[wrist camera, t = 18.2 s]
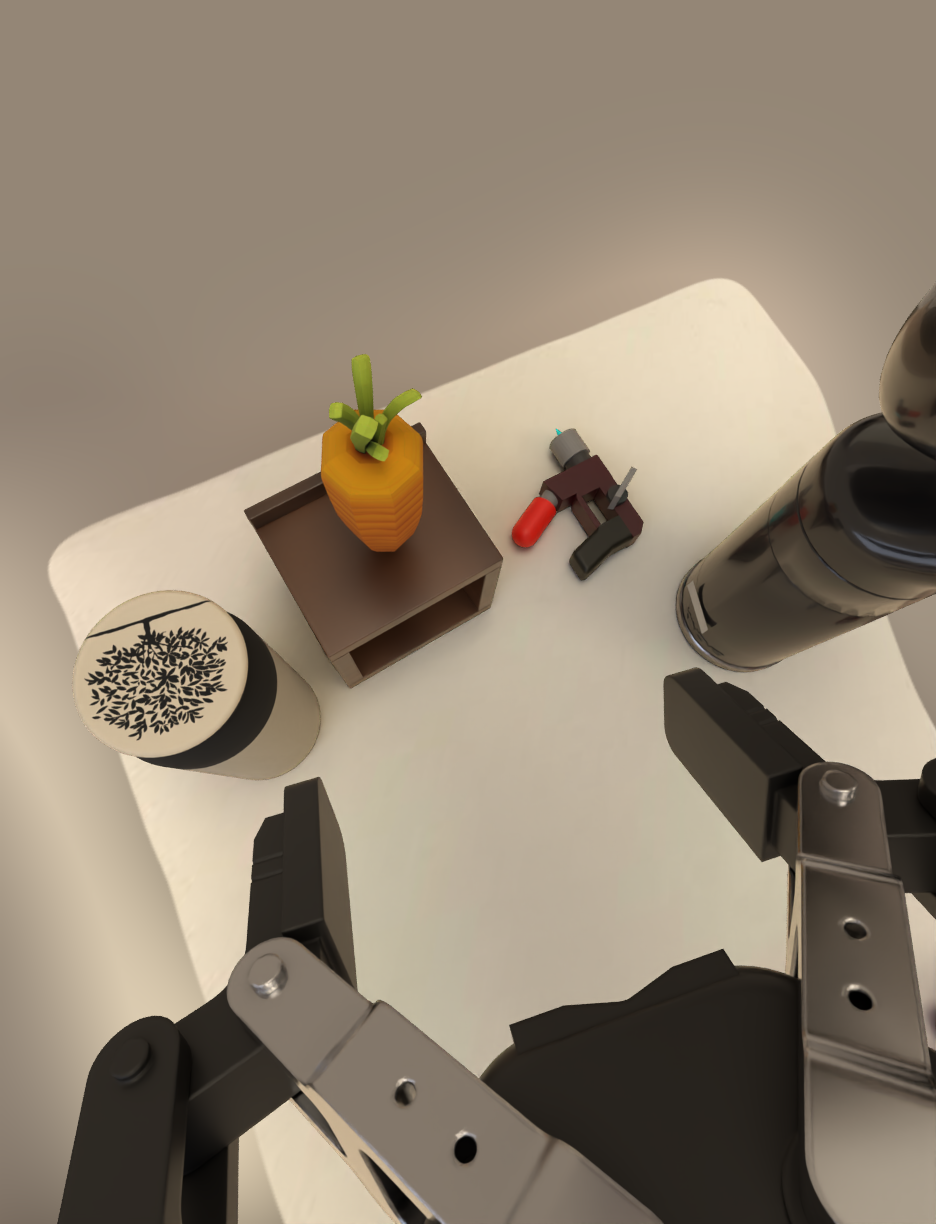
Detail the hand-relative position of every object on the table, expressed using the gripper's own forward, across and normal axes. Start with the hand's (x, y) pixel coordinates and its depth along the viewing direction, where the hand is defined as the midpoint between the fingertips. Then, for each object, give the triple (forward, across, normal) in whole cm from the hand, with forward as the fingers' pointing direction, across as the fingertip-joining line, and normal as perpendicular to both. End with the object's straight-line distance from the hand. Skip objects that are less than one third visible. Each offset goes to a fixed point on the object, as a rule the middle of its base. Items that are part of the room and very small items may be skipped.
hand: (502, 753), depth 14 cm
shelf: (+33, +1, +11) cm, 35 cm away
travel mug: (+28, +12, +16) cm, 35 cm away
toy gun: (+35, -14, +9) cm, 39 cm away
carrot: (+26, 0, +5) cm, 26 cm away
